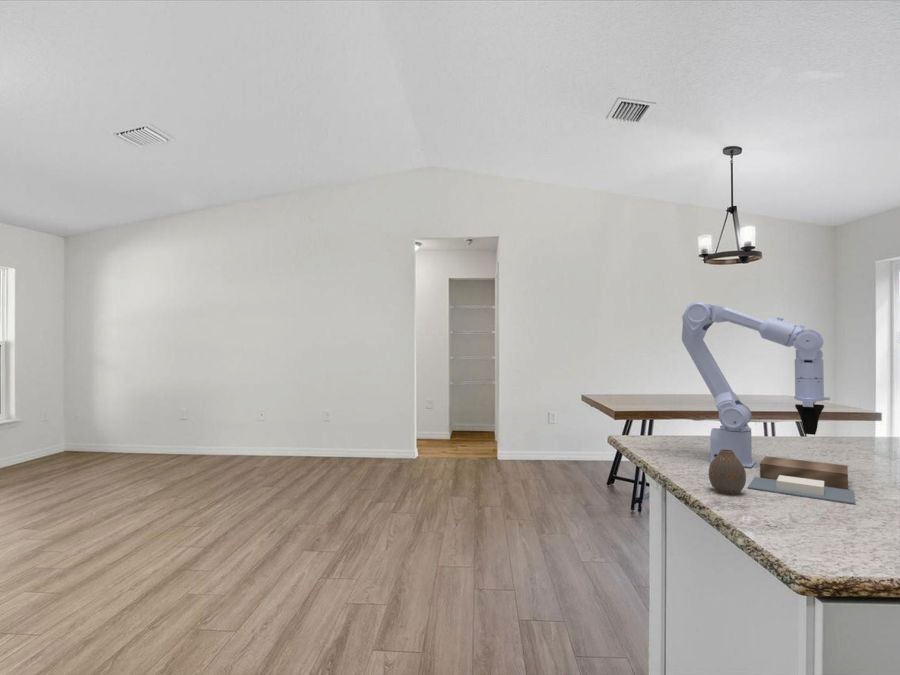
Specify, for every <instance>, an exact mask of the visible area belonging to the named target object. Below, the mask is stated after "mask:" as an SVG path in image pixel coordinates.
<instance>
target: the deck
mask: <svg viewBox="0 0 900 675" xmlns="http://www.w3.org/2000/svg"><path fill="white" fill-rule="evenodd" d="M848 468H849V466H848V465H845V464H835V463H827V462H819V461H810V460H803V459H802V460H801V459H792V458H784V457H778V456H777V457H775V456H767V455H766V456H764V457H763V458H762V459H761V461H760V463H759V478H766V479H774V480H777V479H778V477H779V475H783V476H790V477H798V478H806V479H813V480H821V481H824V486H825V487H832V488H839V489H847V490H849V469H848Z"/></svg>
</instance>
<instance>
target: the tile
mask: <svg viewBox="0 0 900 675" xmlns="http://www.w3.org/2000/svg"><path fill="white" fill-rule="evenodd" d="M777 489H779V490H786V491H793V492H800V493H807V494H813V495H820V496H824V490H825V488H824V481H821V480H813V479H806V478H798V477H790V476H783V475H779V477H778V479H777Z"/></svg>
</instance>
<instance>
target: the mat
mask: <svg viewBox="0 0 900 675" xmlns="http://www.w3.org/2000/svg"><path fill="white" fill-rule="evenodd" d="M824 488H825V490H824V496H820V495H813V494H807V493H800V492H793V491H786V490H779V489H777V480H774V479H766V478H760V476H759V477H757V476H754V477H753V479H752V480H751V482H750V483H749V484H748V486H747V489H749V490H755V491H762V492H771V493H774V494H780V495H781V494H783V495H788V496H795V497H802V498H807V499H813V500H815V499H816V500H822V501H827V502H828V501H829V502H833V503H834V502H835V503H840V504H841V503H842V504H847V505H853V506H854V505H855V506H856V497H855V494H856V493H855V490H853V489H848V490H847V489H839V488H832V487H825V486H824Z"/></svg>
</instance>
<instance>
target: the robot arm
mask: <svg viewBox="0 0 900 675" xmlns="http://www.w3.org/2000/svg"><path fill="white" fill-rule="evenodd" d="M681 319H682V327H681V330H682V331H681V341H682V344H683V345H684V347H685V350H686V351H687V353H688V355H689V356H690V357H691V360H692V362H693V363H694V366H695V367H696V368H697V371H698V372H699V374H700V376H701V378H702V379H703V381H704V383H705V384H706V386H707V388H708V390H709V392H710V393H711V396H712V397H713V399H714V402H715V403H714V404H715V407H716V409H717V411H718V420H719V422H720V424H721V425H719V428H716V427H713V428H711V431H710V437H709V440H710V441H709V442H710V443H709V445H710V449H709V450H710V461H709V463H711V462H712V460H713V459H714V458H715V457H716V456H717V455H718V453H719V452H720V450H721V449H728V450H732V451H733V452H734V454H735V456H736V457H737V458H738V459H739V461H740V462H741V463H742V465H743V467H744V468H752V467H753V466H754V465H755V464H756V460H755V459H754V460H753V454H752V453H753V450H752V449H753V446H752V441H753V440H752V438H753V437H752V428H751V427H750V426H749V423H750V421H751V419H752V412H751V409H750V408H749V407H748V406H747V405H746V404H744V403H743V402H742V401H741V400H740V398H739V396H738V395H737V394H736V392H734V391H733V389H732V388H731V386H730V384H729V382H728V380H727V379H726V377H725V375H724V373H723V372H722V370H721V368H720V366H719V365H718V363H717V362H716V360H715V358H714V355H712V353H711V351H710V349H709V348H708V346H707V344H706V342H705V340H704V338H705V336H706V334H707V332H708V329H709V328H710V327H711V326H712V325H713V324H714V323H716V324H718V323H724V322H725V323H726V322H728V323H732V324H735V325H738V326H741V327H745V328H748V329H750V330H754V331H757V332H758V333H759V335H760V337H761V338H762V339H763V340H767V341H769V342H772V343H776V344H779V345H781V346H785V347H787V348H790V347H793V348H794V349H795V359H794V394H795V395H794V396H793V397H794V400H797V401H800V402H802V404H796V403H795V404H794V406H795V409H796V410H797V412H798V414H799V417H800V420H801V424H802V429H803V432H804V434H805V435H810V436H811V435H813V436H816V434H817V431H818V426H819V420H820V415H821V413H822V412H823V410H824V408H825V404H816V402H824V401H831V397H830V396H825V393H824V392H825V390H824V389H825V384H824V383H825V382H824V380H825V378H824V377H825V376H824V374H825V373H824V371H825V370H824V360H823V356H824V354H823V351H822V349H821V348H823V345H824V339H823V336H822V335H821V333H819V332H818V331H816V330H814V329H808V328H807V329H805V325H804V324H799V325H797V324H794V323H790V322H787V321H785V320H784V318H783V317H780V316H777V317H776V318H775V317H768V318H766V319H761V318H758V317H755V316H752V315H749V314H747V313H744V312H741V311H738V310H735V309H732V308H730V307H726V306H723V305H722V306H721V305H716V304H711V303H708V304H707V303H705V302H703V301H695V302H694V301H693V302H692V303H690V304H689V305H687V307H686V309H685V311H684V312H683V314H682V316H681Z"/></svg>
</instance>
